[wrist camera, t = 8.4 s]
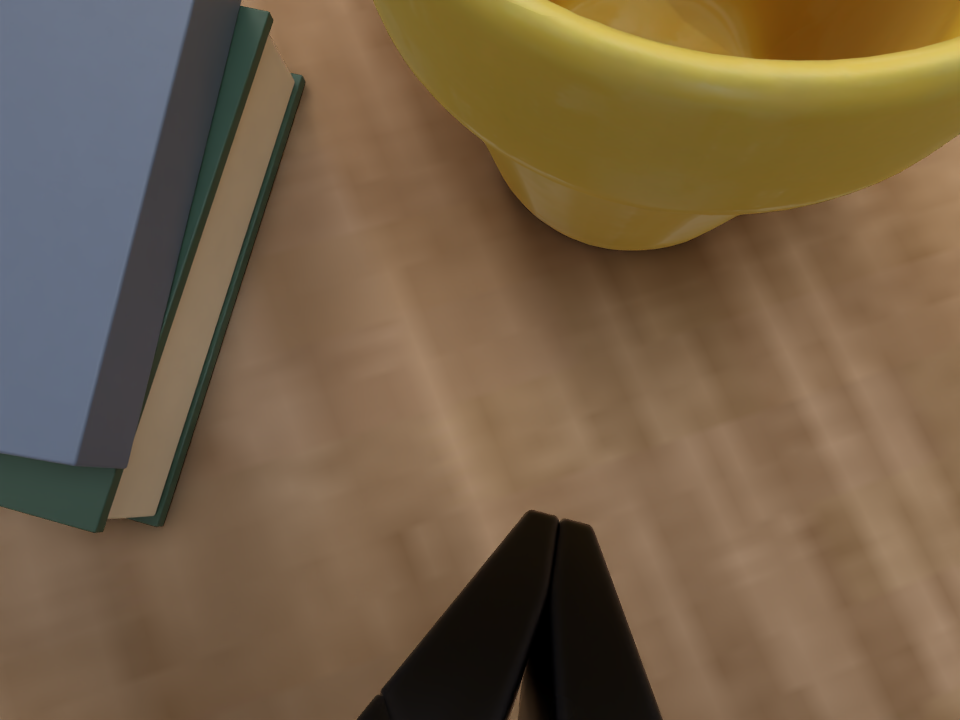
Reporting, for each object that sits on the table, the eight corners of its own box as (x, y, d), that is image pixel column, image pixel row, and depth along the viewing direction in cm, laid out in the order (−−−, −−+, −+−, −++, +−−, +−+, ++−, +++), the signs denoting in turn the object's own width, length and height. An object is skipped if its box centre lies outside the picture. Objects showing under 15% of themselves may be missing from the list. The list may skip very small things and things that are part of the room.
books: (172, 529, 16) (47, 542, 12) (-198, 426, 17) (-438, 403, 13) (317, 75, 18) (254, -56, 14) (-25, 2, 19) (-185, -143, 15)
